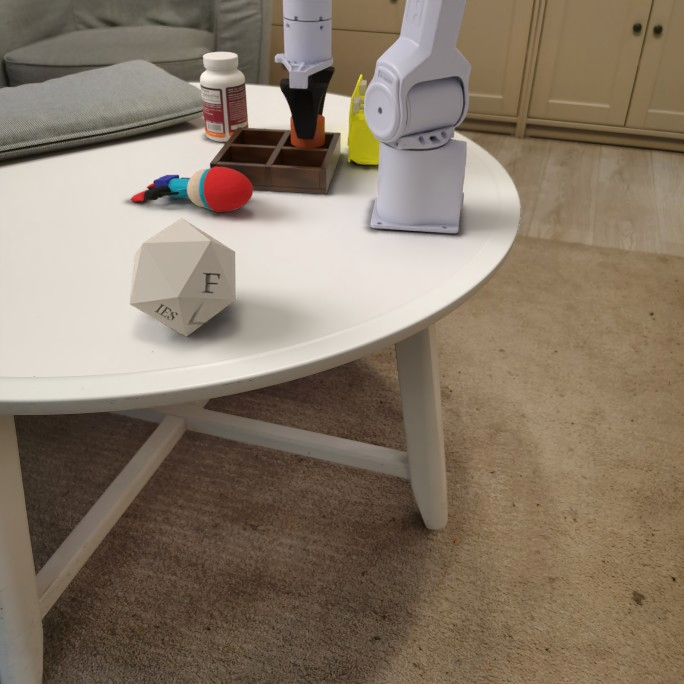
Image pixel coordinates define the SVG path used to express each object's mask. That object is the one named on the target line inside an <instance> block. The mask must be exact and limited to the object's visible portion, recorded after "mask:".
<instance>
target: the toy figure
mask: <svg viewBox="0 0 684 684" xmlns="http://www.w3.org/2000/svg"><path fill="white" fill-rule="evenodd" d="M253 193H254V190H253V187H252V184H251V182H250V180H249V179H248V178H247V177H246V176H245V175H243V174H242V173H240V172H238V171H236V170H234V169H230V168H226V167H213V168H210V167H209V168H204V169H200V170H198V171H196V172H194V173H193V174H192V175H191V176H190V177H180V175H179V174H165V175H163V176H160V177H159V178H156V179H154V180H153V182H152V183H150V184H148V185H147V186H146V190H143V191H141V192H138V193H135V194H134V195H133V196H131V198H130V201H131V202H135V203H137V202H143V201H145V199H146V200H147V201H157V200H159V199H160V198H161V199H162V198H164V197H168V198H174V199H175V198H176V199H178V198H181V199H189V200H190V201H191V203H193V204H194V205H196V206H197V207H200V208H206V209H207V210H210V211H213V212H216V213H226V212H232V211H235V210H237V209H240V208H242V207H244V206H246V204H248V203H249V201H250V200H251V199H252V197H253Z"/></svg>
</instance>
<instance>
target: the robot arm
mask: <svg viewBox="0 0 684 684" xmlns="http://www.w3.org/2000/svg"><path fill="white" fill-rule="evenodd" d="M466 5H467V0H406V1H405V6H404V11H403V18H402V22H401V28H400V35H399V37H398V39H396V41H395V42H394V43H393V44H392V45H390V46H389V47H388V48H387V50H386V51H384V52H383V54H382V55H381V56H380V57H379V58H378V59H377V60H376V64H375V69H374V74H373V77H372V79H371V81H370V82H369V84H368V86H367V87H366V94H365V99H364V114H365V119H366V122H367V124H368V127H369V128H370V130H371V132H372V133H373V134H374V138H375V139H377V140H379V141H380V148H379V164H378V172H377V173H378V174H377V175H378V176H377V191H376V192H377V193H376V194H377V196H376V197H375V200H374V203H373V208H372V212H371V213H372V214H371V218H370V226H369V227H370V228H372V229H380V230H397V231H413V232H427V233H444V234H457V233H459V229H460V220H461V218H460V217H461V210H463V209H464V203H465V202H464V201H465V192H464V184H465V177H466V167H467V166H466V165H467V152H468V151H467V150H468V146H467V144H468V143H467V141H465V140H460V139H454V138H455V131H456V128H457V127H459V126H460V125H461V124H462V123H463V122H464V120H465V119H466V117H467V115H468V111H469V106H470V92H469V91H470V90H469V81H470V76H471V71H472V64H470V62H469V61H468V59H467V57H466V56H464V54H463V53H462V52H461V51H460V50H459V48H457V43H458V39H459V34H460V30H461V26H462V22H463V17H464V13H465V9H466ZM332 12H333V0H282V19H283V20H282V21H283V51H284V53H277V54H276V55H275V56H274V63H276V64H283V65H284V67H285V68H286V69H287V71H288V74H289V75H288V76H289V77H288V78H281V79H280V81H279V88H280V91H281V93H282V94H283V97H284V98H285V100H286V102H287V105H288V108H289V111H290V114H291V116H292V119H293V124H294V128H295V132H296V136H297V138H298V139H314V136H315V132H316V127H317V120H318V114H320V115H322V116H323V113H324V107H325V101H326V96H327V92H328V88H329V86H330V82H331V81H332V78H333V76H334V73H335V72H336V69H335V67H334V66H333V65H334V56H333V55H332V53H333V52H332V47H333V46H332V43H333V41H332V40H333V39H332V37H333V35H332V32H333V31H332V30H333V13H332Z"/></svg>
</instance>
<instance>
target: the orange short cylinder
mask: <svg viewBox="0 0 684 684" xmlns="http://www.w3.org/2000/svg"><path fill="white" fill-rule="evenodd" d="M289 119H290V120H289V121H290V130H291V144H292V145H294V146H296V147H302V148H316V147H320V146H322V145H324V144H325V132H326V117H325V116H324V115H323V114H322V115H320V114H318V120H317V127H316V132H315V136H314V139H298V138H297V136H296V132H295V128H294V124H293V119H292V115H291V116H290V117H289Z"/></svg>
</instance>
